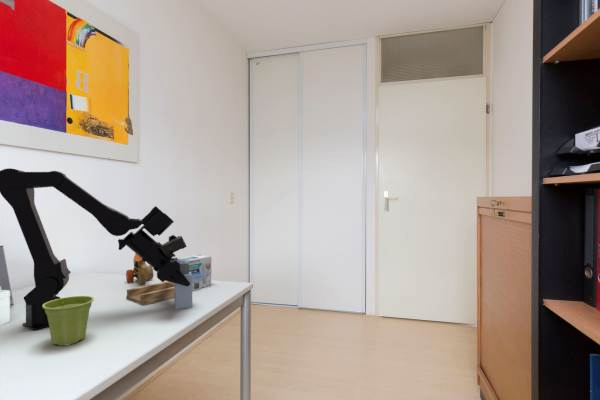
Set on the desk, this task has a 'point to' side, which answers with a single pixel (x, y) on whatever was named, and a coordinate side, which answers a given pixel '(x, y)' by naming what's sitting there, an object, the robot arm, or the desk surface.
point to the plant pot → (68, 318)
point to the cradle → (151, 293)
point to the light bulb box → (199, 270)
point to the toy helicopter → (139, 271)
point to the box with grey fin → (183, 290)
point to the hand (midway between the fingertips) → (188, 283)
